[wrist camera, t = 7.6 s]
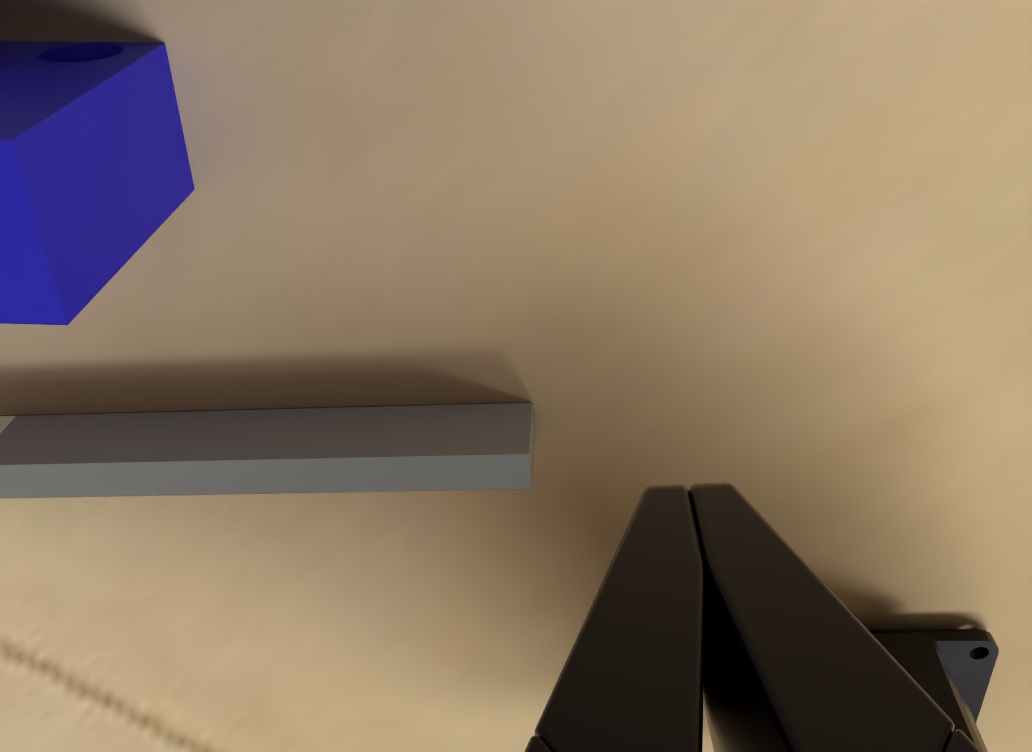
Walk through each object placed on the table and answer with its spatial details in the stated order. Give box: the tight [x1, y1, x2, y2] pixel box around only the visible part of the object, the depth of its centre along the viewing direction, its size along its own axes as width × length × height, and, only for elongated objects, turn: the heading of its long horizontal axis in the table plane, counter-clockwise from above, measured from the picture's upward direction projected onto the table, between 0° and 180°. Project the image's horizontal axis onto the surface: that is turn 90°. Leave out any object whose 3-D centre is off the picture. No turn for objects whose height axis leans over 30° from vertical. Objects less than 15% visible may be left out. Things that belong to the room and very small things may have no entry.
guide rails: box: [0, 403, 535, 498], centre depth 19 cm, size 12×21×3 cm, turn 94°
